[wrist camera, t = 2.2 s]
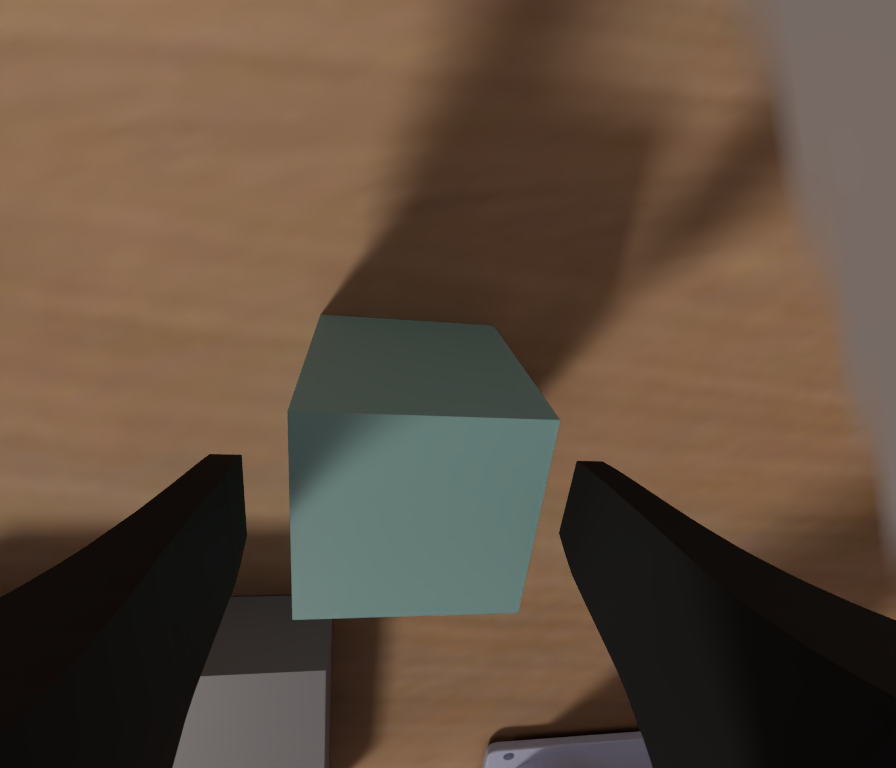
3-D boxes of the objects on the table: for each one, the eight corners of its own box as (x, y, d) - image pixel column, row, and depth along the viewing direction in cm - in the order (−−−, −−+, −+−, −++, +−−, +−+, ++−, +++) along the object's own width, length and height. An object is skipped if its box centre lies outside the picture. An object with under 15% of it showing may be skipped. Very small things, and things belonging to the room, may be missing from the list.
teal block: (493, 324, 15) (560, 419, 10) (472, 467, 17) (518, 612, 12) (320, 313, 14) (287, 411, 9) (320, 464, 16) (292, 619, 11)
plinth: (332, 594, 18) (325, 670, 16) (328, 789, 23) (322, 873, 20) (-45, 603, 16) (-128, 692, 14) (35, 815, 21) (-15, 911, 18)
